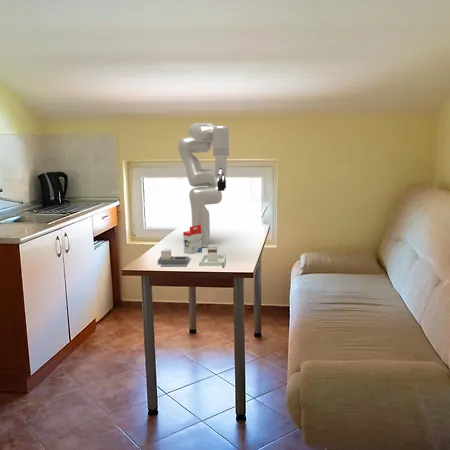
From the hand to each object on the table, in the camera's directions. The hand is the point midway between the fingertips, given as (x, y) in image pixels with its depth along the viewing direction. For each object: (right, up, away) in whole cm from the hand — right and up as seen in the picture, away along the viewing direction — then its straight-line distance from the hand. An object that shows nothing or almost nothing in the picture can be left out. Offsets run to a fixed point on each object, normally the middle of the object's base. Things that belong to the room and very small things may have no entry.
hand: (221, 189), depth 233 cm
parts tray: (-4, -35, -5) cm, 35 cm away
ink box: (-15, -32, +16) cm, 38 cm away
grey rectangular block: (-4, -34, -5) cm, 35 cm away
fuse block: (-21, -35, -4) cm, 41 cm away
